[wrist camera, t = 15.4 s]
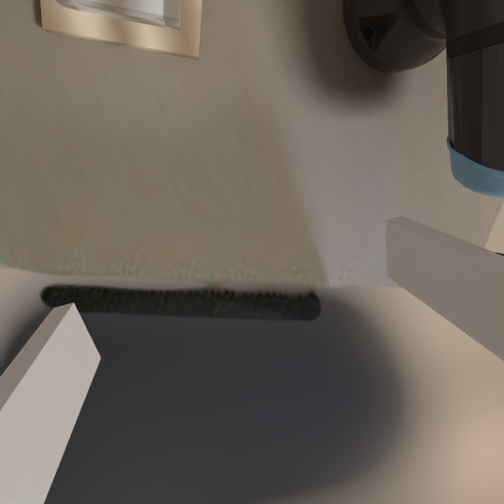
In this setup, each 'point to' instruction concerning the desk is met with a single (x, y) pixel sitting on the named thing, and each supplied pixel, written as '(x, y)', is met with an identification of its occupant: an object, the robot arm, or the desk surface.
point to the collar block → (129, 23)
